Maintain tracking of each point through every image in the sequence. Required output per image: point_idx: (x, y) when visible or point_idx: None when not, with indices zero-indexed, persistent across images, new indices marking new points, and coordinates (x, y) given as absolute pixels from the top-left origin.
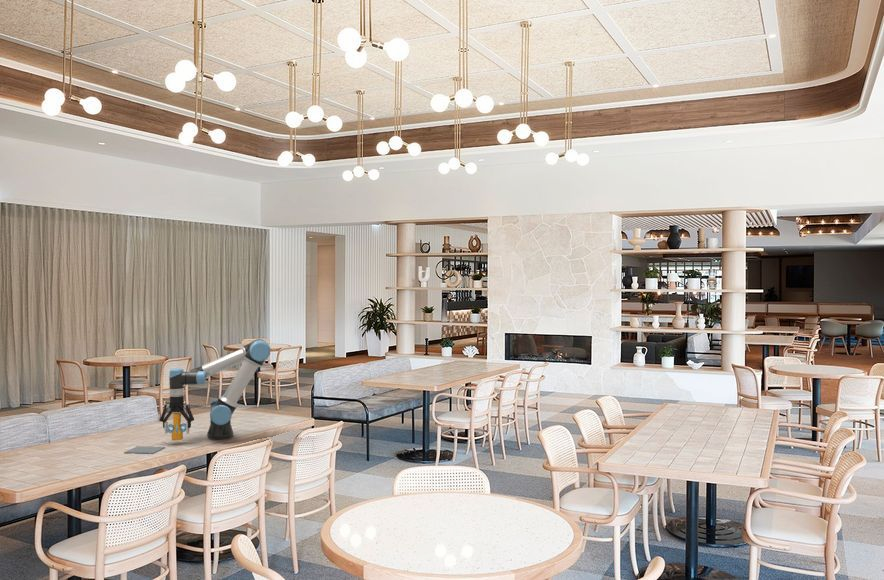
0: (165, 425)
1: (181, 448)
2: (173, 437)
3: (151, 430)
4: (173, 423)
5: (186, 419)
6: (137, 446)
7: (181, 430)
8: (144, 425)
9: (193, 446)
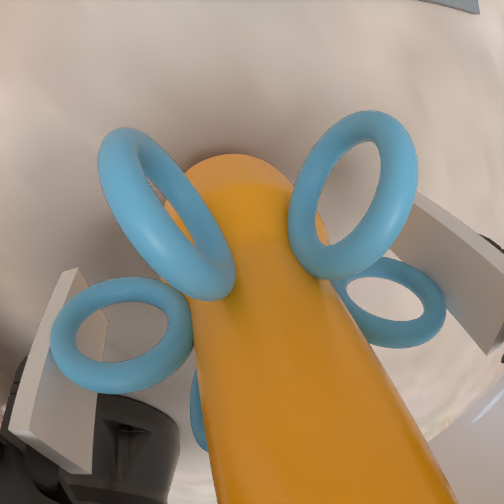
0: (483, 251)
1: (47, 51)
2: (245, 162)
3: (474, 368)
4: (362, 343)
5: (18, 501)
6: (475, 9)
7: (150, 289)
8: (487, 386)
9: (6, 176)
